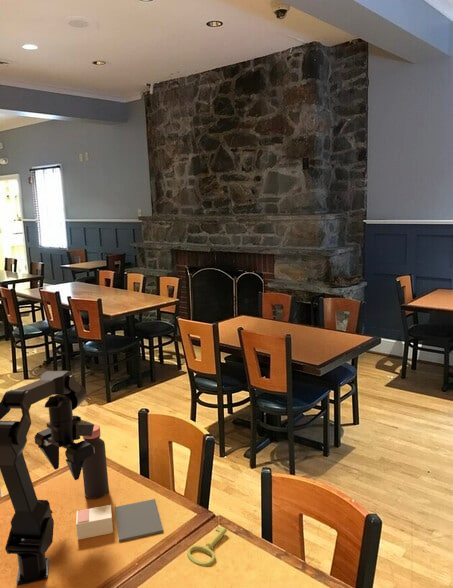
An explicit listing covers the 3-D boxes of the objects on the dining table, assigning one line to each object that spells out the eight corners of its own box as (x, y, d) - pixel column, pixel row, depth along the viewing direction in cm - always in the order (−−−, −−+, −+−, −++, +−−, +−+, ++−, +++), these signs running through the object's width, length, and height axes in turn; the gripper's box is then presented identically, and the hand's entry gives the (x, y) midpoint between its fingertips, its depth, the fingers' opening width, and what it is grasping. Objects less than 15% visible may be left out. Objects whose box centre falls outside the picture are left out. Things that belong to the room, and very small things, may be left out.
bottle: (99, 483, 146) (94, 420, 143) (113, 490, 142) (108, 426, 138) (80, 493, 141) (73, 429, 138) (93, 502, 137) (87, 435, 133)
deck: (112, 533, 124) (111, 516, 123) (77, 540, 122) (76, 523, 121) (112, 520, 129) (110, 504, 128) (78, 526, 127) (76, 510, 126)
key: (228, 534, 122) (227, 526, 122) (212, 569, 111) (211, 561, 110) (201, 529, 124) (200, 522, 124) (182, 563, 113) (182, 555, 112)
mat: (163, 532, 123) (163, 529, 123) (119, 541, 120) (118, 539, 120) (155, 500, 137) (155, 498, 136) (115, 508, 134) (114, 506, 133)
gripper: (109, 415, 126) (113, 471, 129) (67, 400, 138) (72, 452, 140) (72, 431, 118) (77, 491, 120) (30, 413, 129) (36, 468, 132)
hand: (66, 474), depth 128 cm, fingers open, 9 cm apart
